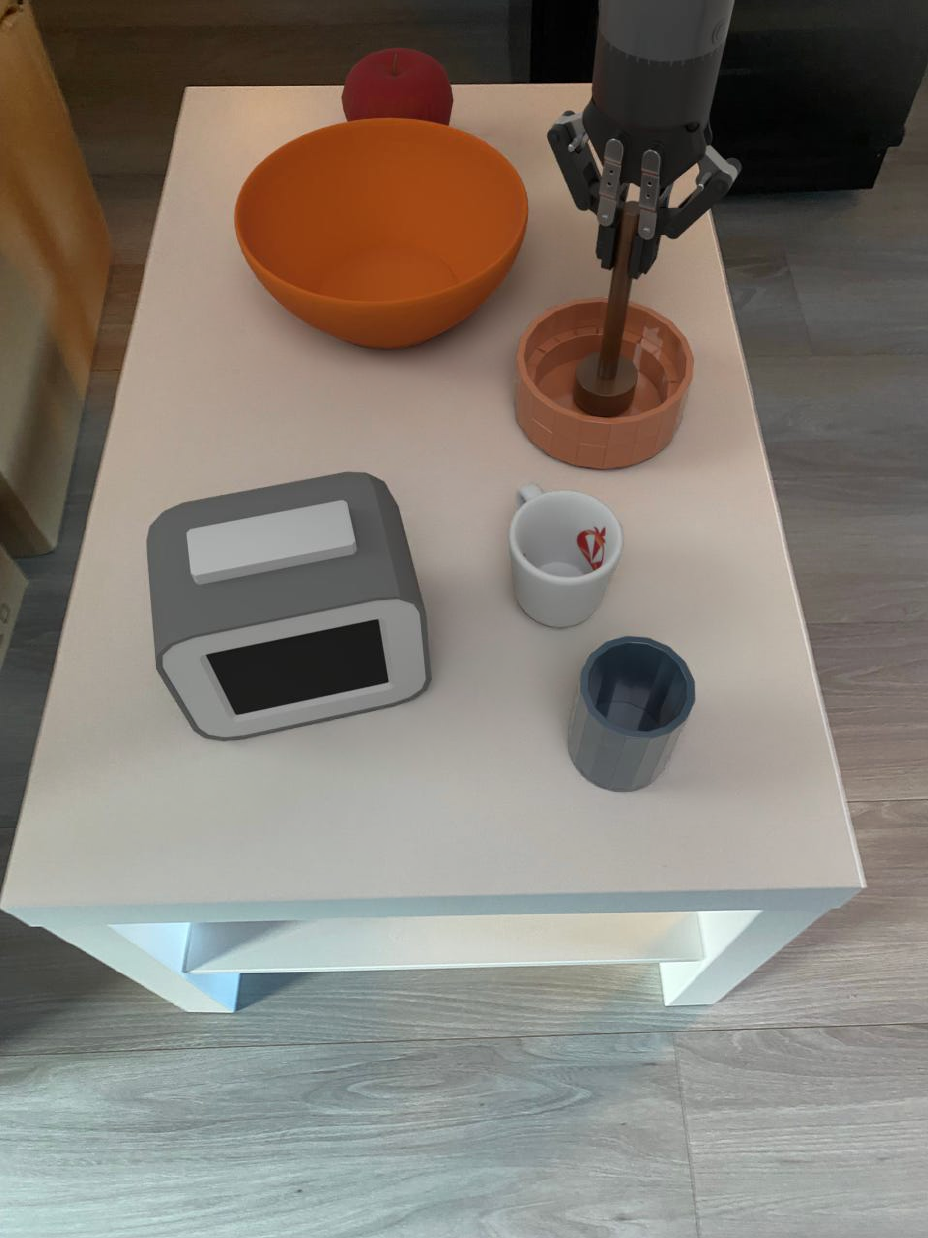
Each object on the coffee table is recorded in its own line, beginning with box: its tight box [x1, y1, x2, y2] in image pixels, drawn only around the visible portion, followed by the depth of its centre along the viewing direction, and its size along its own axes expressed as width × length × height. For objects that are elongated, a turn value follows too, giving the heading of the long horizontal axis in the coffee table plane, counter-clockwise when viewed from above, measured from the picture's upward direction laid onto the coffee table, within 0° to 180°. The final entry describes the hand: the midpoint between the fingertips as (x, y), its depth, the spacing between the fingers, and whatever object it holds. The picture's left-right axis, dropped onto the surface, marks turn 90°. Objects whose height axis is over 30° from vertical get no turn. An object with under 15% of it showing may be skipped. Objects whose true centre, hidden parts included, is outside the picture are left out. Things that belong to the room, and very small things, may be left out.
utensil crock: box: [567, 635, 696, 793], centre depth 62 cm, size 7×7×9 cm
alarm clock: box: [145, 471, 432, 742], centre depth 63 cm, size 16×11×16 cm
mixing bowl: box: [513, 296, 695, 470], centre depth 79 cm, size 14×14×6 cm
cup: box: [507, 482, 625, 628], centre depth 69 cm, size 11×8×8 cm
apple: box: [340, 47, 454, 126], centre depth 95 cm, size 11×11×12 cm
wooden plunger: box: [573, 200, 640, 416], centre depth 74 cm, size 5×5×18 cm
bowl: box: [233, 118, 530, 350], centre depth 85 cm, size 25×25×10 cm
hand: (623, 266), depth 70 cm, fingers closed on wooden plunger, 1 cm apart
